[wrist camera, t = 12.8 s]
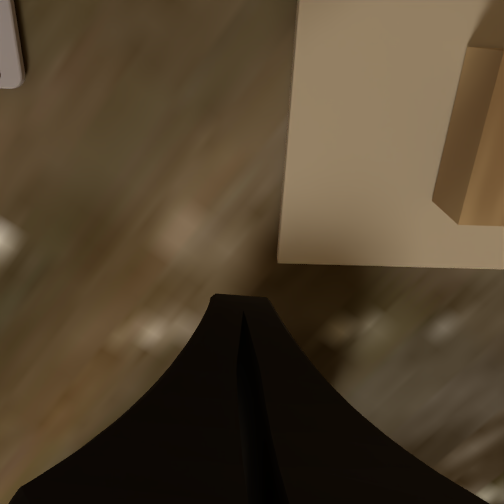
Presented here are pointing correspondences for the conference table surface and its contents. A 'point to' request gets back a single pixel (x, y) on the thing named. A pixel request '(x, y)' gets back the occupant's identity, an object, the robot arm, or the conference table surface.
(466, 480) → the conference table surface
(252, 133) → the conference table surface
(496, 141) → the wooden block
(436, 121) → the mat
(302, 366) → the robot arm
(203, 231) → the conference table surface
